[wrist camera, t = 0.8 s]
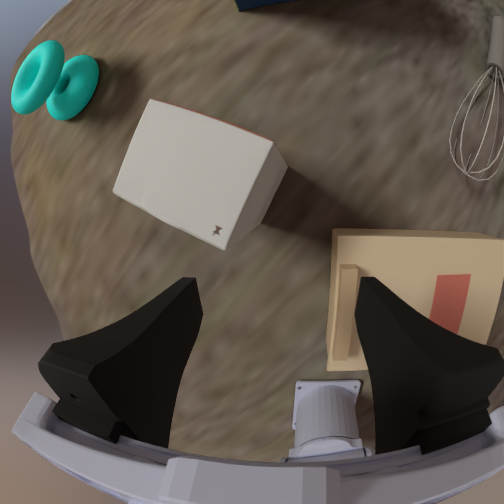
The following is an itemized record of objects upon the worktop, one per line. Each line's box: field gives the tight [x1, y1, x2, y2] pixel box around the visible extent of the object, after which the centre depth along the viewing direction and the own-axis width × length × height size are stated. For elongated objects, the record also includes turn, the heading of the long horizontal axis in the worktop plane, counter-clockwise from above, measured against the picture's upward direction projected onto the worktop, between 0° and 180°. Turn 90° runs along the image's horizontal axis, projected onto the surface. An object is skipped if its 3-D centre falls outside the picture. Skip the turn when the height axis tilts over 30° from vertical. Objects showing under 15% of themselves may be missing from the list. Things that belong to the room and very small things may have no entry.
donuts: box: [11, 40, 99, 120], centre depth 22 cm, size 10×10×10 cm
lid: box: [327, 235, 504, 371], centre depth 19 cm, size 12×18×2 cm
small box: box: [113, 98, 288, 251], centre depth 20 cm, size 8×6×13 cm
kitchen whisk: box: [449, 16, 504, 181], centre depth 14 cm, size 6×34×6 cm, turn 150°
